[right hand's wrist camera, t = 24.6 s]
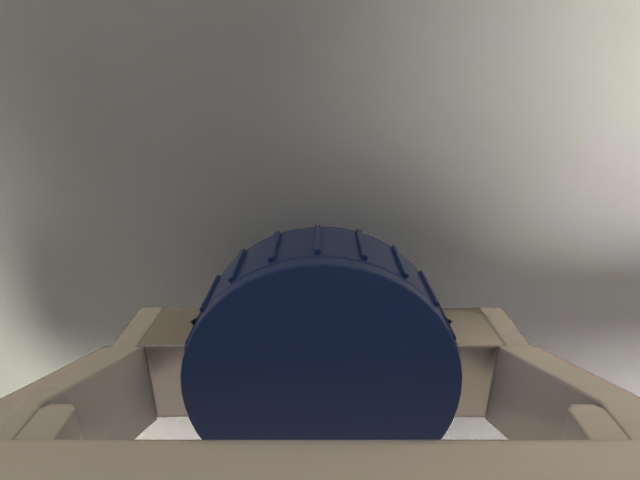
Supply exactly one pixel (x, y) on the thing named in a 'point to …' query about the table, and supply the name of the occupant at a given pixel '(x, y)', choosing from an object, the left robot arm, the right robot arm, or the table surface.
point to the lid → (321, 345)
